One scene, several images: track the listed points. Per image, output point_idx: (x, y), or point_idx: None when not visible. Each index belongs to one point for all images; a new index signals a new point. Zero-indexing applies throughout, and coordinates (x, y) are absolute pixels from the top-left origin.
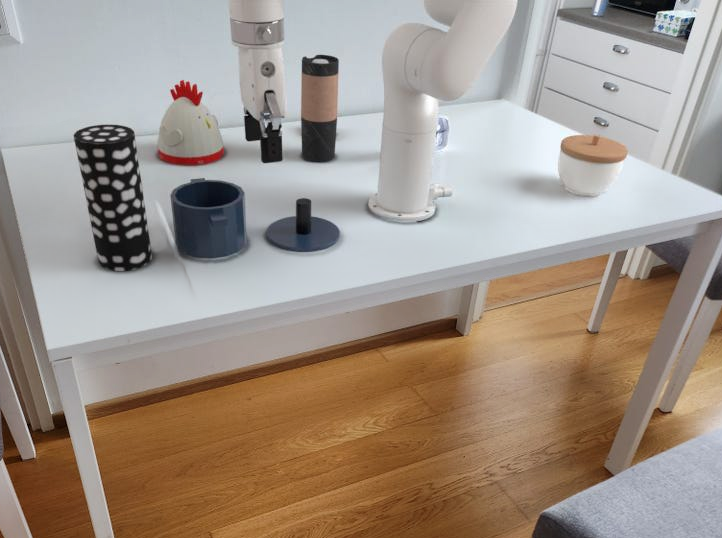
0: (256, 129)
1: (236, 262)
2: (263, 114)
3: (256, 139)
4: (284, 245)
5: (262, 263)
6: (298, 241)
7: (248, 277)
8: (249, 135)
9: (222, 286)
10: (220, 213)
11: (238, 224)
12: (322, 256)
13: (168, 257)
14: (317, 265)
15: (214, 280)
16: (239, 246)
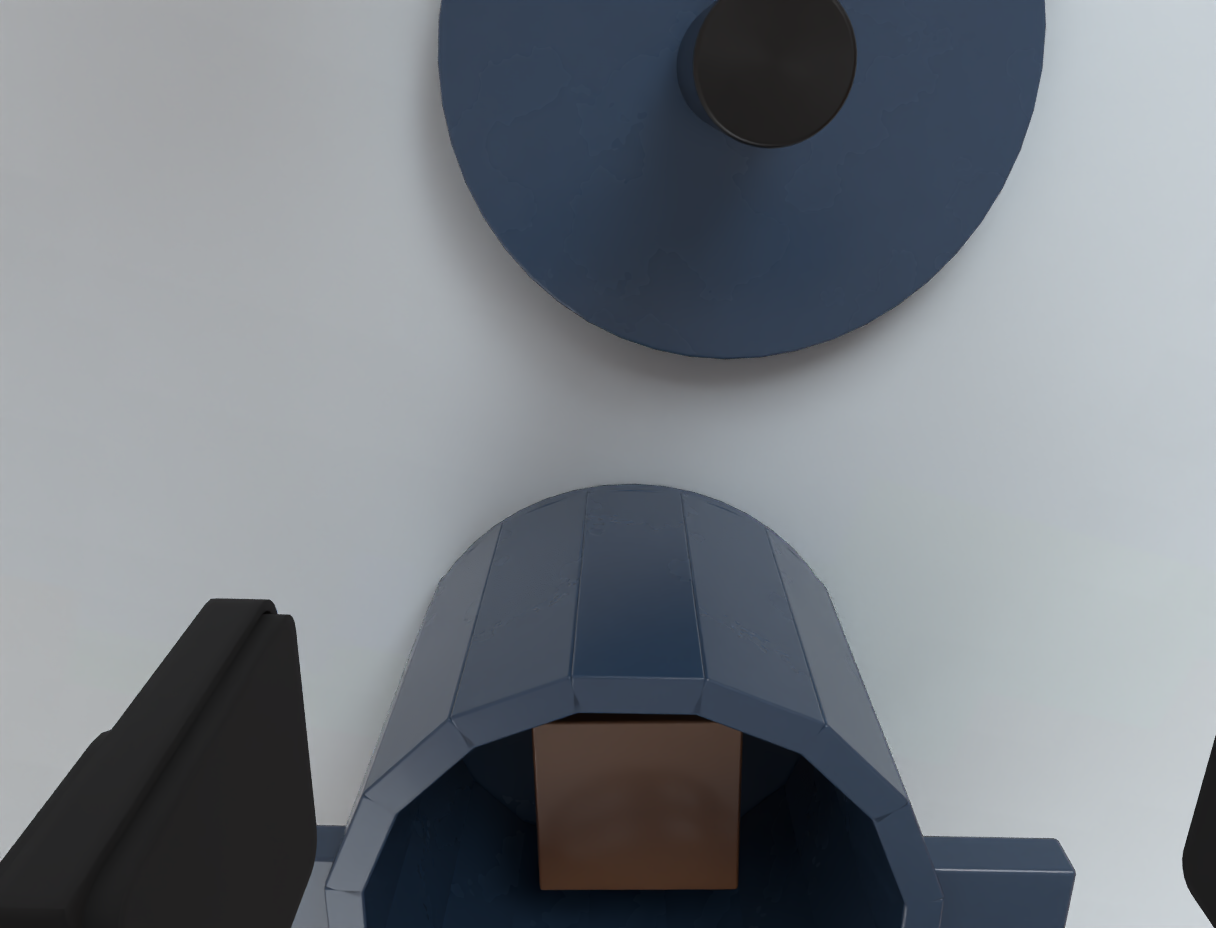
0: (246, 849)
1: (903, 604)
2: (32, 918)
3: (297, 737)
4: (911, 292)
5: (982, 465)
6: (888, 166)
7: (1108, 586)
8: (287, 886)
9: (1133, 733)
10: (956, 895)
11: (847, 668)
12: (1074, 25)
13: None
14: (1180, 115)
15: (1051, 755)
16: (816, 585)
